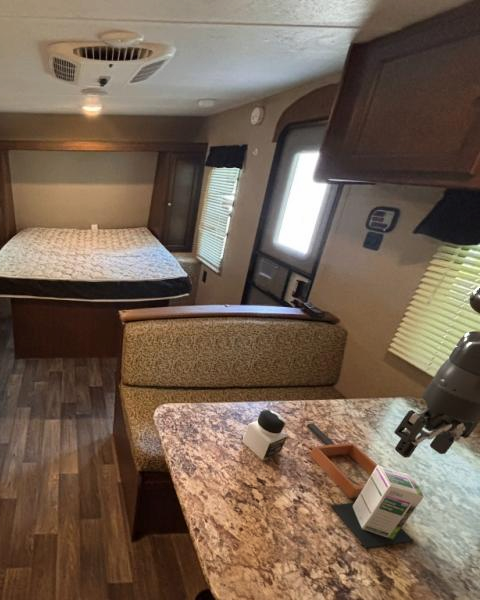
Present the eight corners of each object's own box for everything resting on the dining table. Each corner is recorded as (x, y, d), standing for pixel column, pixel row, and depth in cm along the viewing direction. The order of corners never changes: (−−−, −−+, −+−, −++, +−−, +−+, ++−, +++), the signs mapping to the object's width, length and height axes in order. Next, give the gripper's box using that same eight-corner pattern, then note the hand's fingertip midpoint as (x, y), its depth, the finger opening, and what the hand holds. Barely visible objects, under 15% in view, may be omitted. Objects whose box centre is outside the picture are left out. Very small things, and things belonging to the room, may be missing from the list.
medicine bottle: (262, 461, 86) (276, 429, 81) (241, 441, 92) (252, 410, 87) (280, 453, 89) (294, 421, 84) (258, 434, 95) (270, 404, 90)
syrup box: (361, 529, 71) (391, 486, 65) (351, 505, 76) (377, 463, 70) (392, 540, 69) (426, 497, 63) (379, 514, 74) (409, 472, 68)
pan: (324, 429, 98) (328, 421, 97) (392, 493, 80) (399, 484, 78) (288, 432, 96) (292, 424, 95) (349, 498, 78) (355, 489, 76)
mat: (372, 501, 77) (373, 500, 77) (412, 541, 69) (413, 540, 69) (330, 506, 76) (331, 505, 76) (366, 548, 68) (367, 547, 67)
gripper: (456, 405, 52) (409, 472, 59) (523, 400, 54) (471, 465, 61) (407, 376, 59) (370, 439, 65) (469, 373, 61) (427, 434, 67)
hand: (419, 452), depth 63 cm, fingers open, 8 cm apart
